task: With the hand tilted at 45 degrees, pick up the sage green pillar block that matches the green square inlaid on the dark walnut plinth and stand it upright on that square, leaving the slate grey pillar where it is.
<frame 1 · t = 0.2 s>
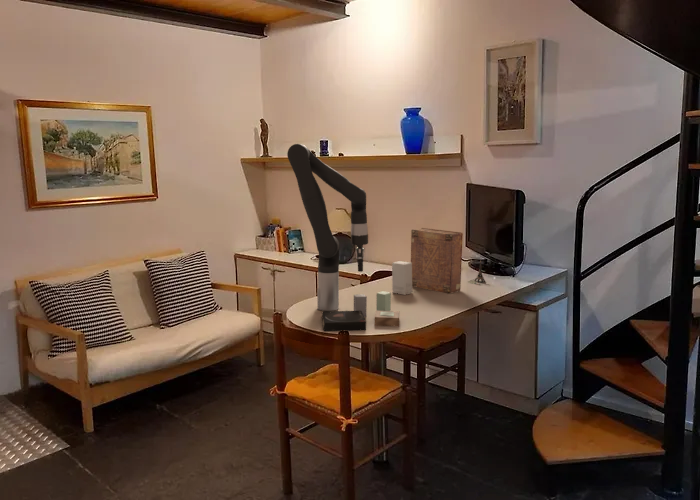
hand: (360, 269, 268), 18 cm above the table, tool pointing down, fingers open, 8 cm apart
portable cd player: (343, 326, 248), on the table
book: (434, 288, 312), on the table
grey pillar: (359, 315, 261), on the table
skincare box: (401, 293, 302), on the table
eiffel tower figurine: (479, 282, 328), on the table
walnut plinth: (387, 323, 251), on the table
sage pillar: (383, 312, 266), on the table
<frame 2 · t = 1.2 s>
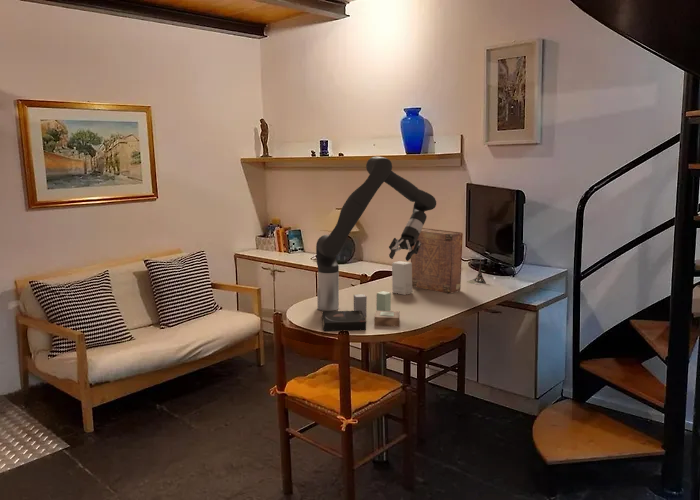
hand: (398, 258, 271), 22 cm above the table, tool tilted 45°, fingers open, 8 cm apart
nothing on the table moved.
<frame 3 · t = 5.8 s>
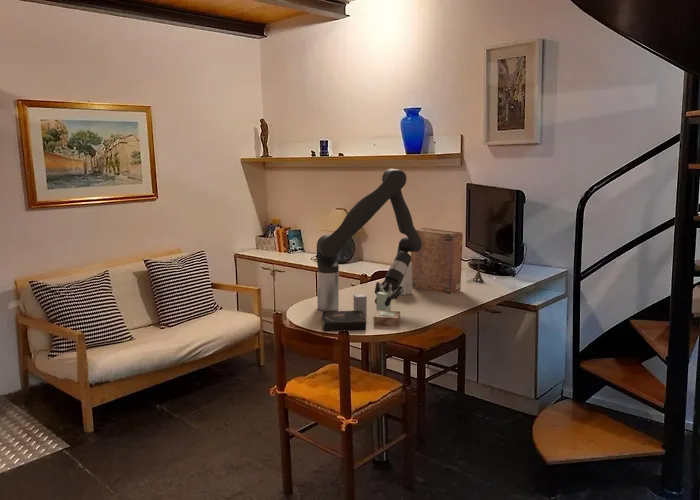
hand: (381, 304, 264), 4 cm above the table, tool tilted 45°, fingers closed on sage pillar, 4 cm apart
sage pillar: (383, 312, 266), on the table, touching gripper
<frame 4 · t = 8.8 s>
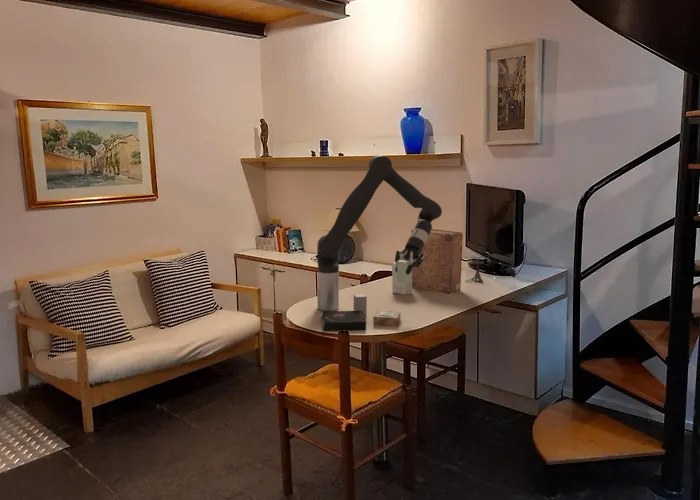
hand: (401, 272, 256), 19 cm above the table, tool tilted 45°, fingers closed on sage pillar, 4 cm apart
sage pillar: (404, 281, 259), point 15 cm above the table, touching gripper
when the fingers open (10 cm above the table, at t = 12.1 s): sage pillar drops 2 cm, resting on walnut plinth.
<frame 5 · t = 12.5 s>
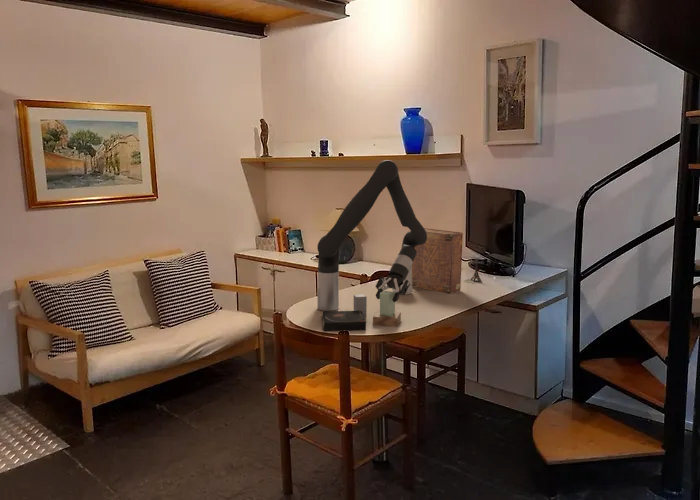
hand: (385, 299, 248), 10 cm above the table, tool tilted 45°, fingers open, 7 cm apart
walnut plinth: (386, 323, 251), on the table, touching sage pillar
sage pillar: (387, 313, 251), point 4 cm above the table, touching walnut plinth
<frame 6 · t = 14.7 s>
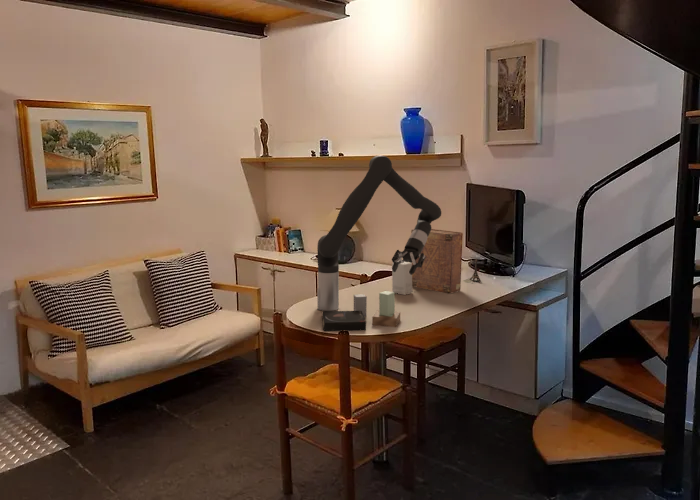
hand: (401, 272, 256), 20 cm above the table, tool tilted 45°, fingers open, 8 cm apart
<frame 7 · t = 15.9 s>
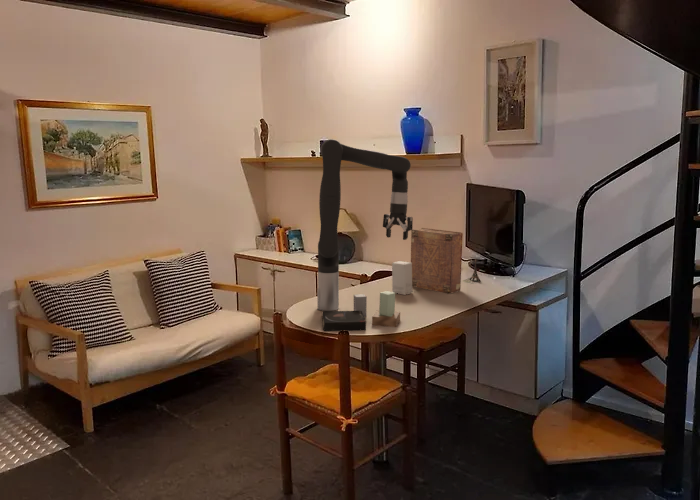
hand: (396, 238, 270), 32 cm above the table, tool pointing down, fingers open, 8 cm apart
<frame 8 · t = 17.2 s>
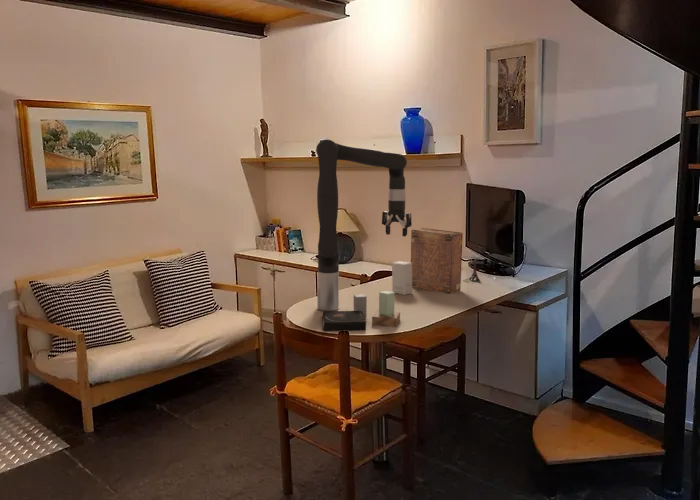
hand: (396, 235, 270), 33 cm above the table, tool pointing down, fingers open, 8 cm apart
walnut plinth: (386, 323, 251), on the table
sage pillar: (386, 313, 251), point 4 cm above the table
at the end: sage pillar 0.0 cm off-centre on the walnut plinth, point 4.2 cm above the walnut plinth's base; sage pillar tilted 1°; grey pillar moved 0.0 cm from its start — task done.
